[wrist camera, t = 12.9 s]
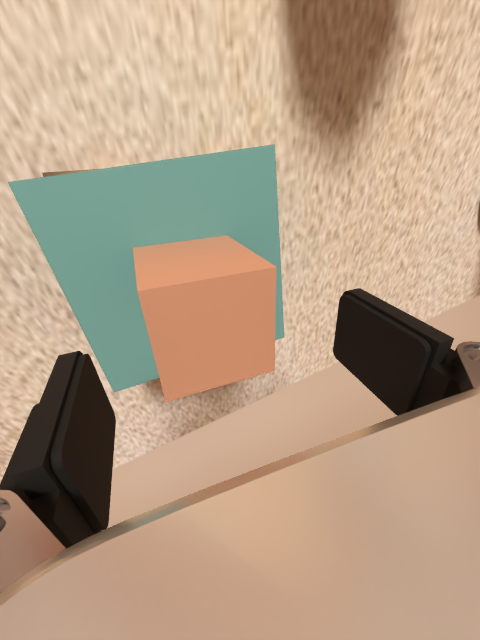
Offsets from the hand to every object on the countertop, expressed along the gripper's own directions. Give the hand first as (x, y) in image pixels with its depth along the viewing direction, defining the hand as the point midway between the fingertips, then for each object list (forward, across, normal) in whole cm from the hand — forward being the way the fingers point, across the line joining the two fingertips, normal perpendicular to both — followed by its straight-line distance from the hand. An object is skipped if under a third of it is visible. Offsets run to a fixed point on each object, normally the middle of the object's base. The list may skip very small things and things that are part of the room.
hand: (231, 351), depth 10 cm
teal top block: (+11, +1, 0) cm, 11 cm away
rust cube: (+7, 0, 0) cm, 7 cm away
